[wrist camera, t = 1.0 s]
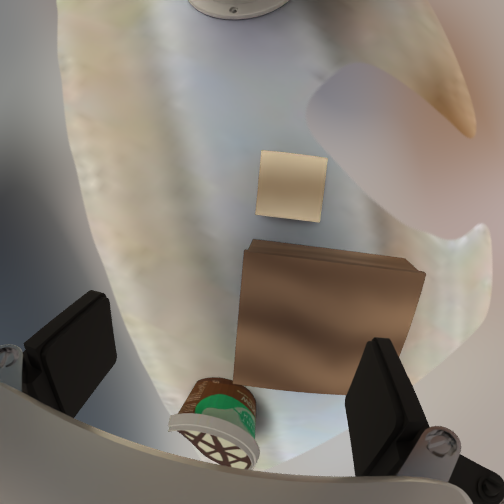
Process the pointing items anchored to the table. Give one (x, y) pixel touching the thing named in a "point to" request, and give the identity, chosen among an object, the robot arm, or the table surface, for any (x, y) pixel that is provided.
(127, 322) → the table surface
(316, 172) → the birch block
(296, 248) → the walnut box
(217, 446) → the food container
